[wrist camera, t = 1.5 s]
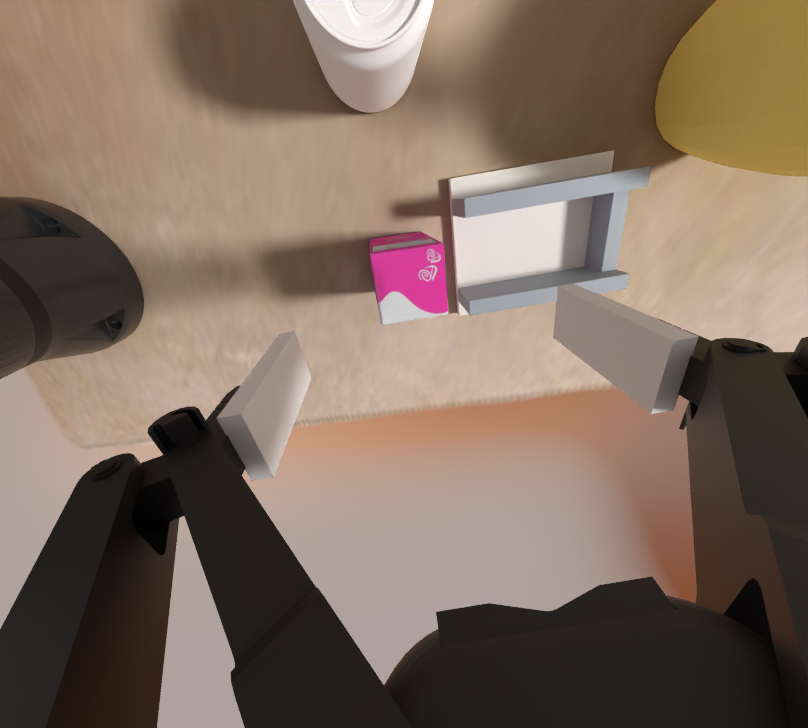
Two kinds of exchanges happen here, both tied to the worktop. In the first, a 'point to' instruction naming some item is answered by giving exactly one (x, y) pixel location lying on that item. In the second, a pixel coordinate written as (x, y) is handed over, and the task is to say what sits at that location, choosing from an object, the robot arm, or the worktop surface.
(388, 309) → the supplement box
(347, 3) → the beverage can
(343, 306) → the worktop surface
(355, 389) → the worktop surface
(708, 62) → the vase
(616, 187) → the slot cradle
